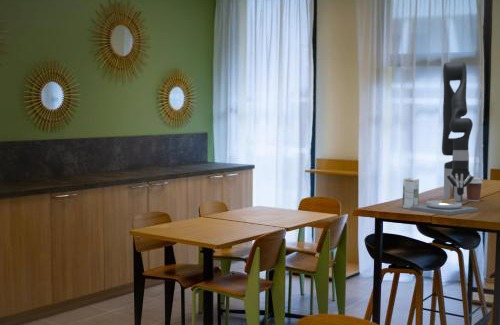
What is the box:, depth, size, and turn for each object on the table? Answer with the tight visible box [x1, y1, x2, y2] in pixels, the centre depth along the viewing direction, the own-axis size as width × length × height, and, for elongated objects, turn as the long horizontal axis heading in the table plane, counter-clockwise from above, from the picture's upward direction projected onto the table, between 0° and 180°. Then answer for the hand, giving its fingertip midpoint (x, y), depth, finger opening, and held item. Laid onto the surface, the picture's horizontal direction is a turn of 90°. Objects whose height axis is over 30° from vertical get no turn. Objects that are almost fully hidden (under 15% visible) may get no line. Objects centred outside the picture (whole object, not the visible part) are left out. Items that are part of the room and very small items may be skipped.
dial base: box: [410, 204, 479, 216], centre depth 314 cm, size 22×22×2 cm
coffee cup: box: [464, 177, 484, 202], centre depth 353 cm, size 9×9×12 cm
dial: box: [426, 186, 463, 209], centre depth 315 cm, size 20×16×9 cm
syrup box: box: [402, 177, 420, 209], centre depth 322 cm, size 6×6×14 cm
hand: (460, 195), depth 320 cm, fingers closed
